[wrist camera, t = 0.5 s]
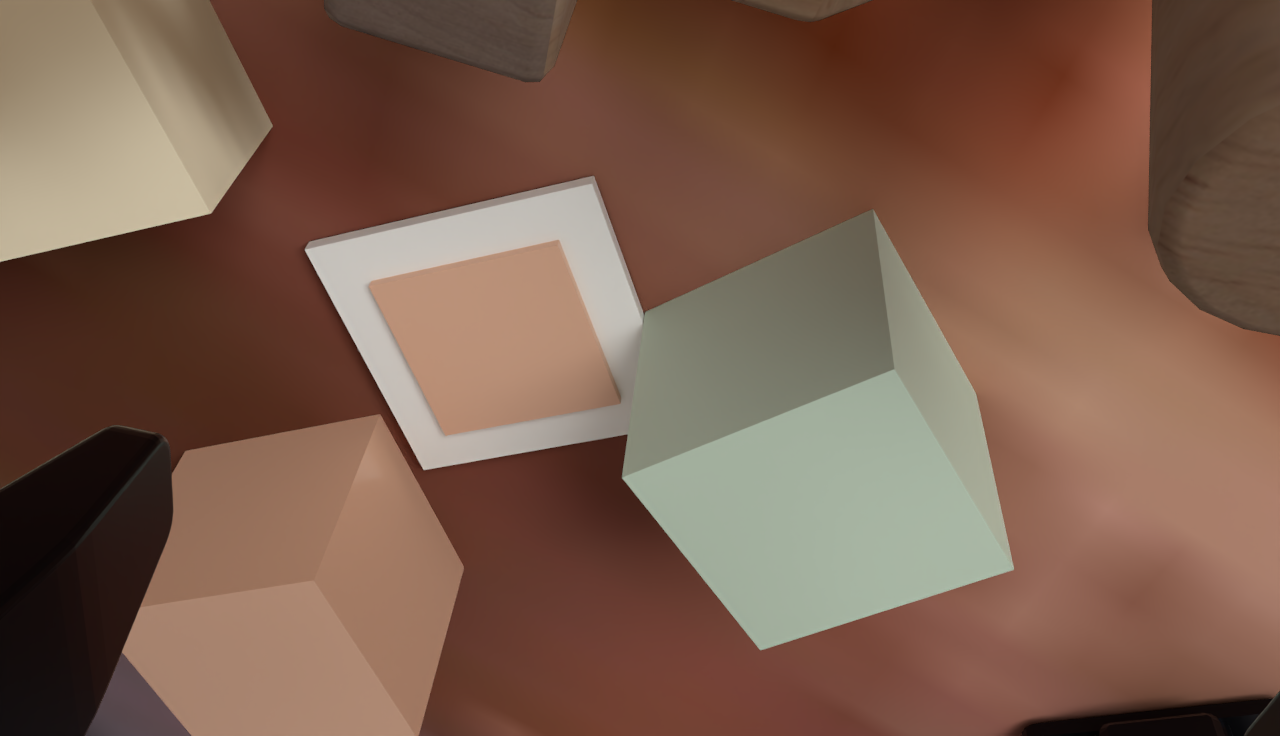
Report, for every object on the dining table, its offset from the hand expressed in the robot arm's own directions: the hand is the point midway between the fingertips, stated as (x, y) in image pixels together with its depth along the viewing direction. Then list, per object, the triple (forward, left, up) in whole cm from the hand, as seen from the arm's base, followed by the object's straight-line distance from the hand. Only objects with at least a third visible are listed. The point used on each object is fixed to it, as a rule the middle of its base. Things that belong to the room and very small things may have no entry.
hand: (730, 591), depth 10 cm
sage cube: (-8, +1, -14) cm, 16 cm away
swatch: (-6, +7, -14) cm, 16 cm away
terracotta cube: (-10, +13, -14) cm, 21 cm away
